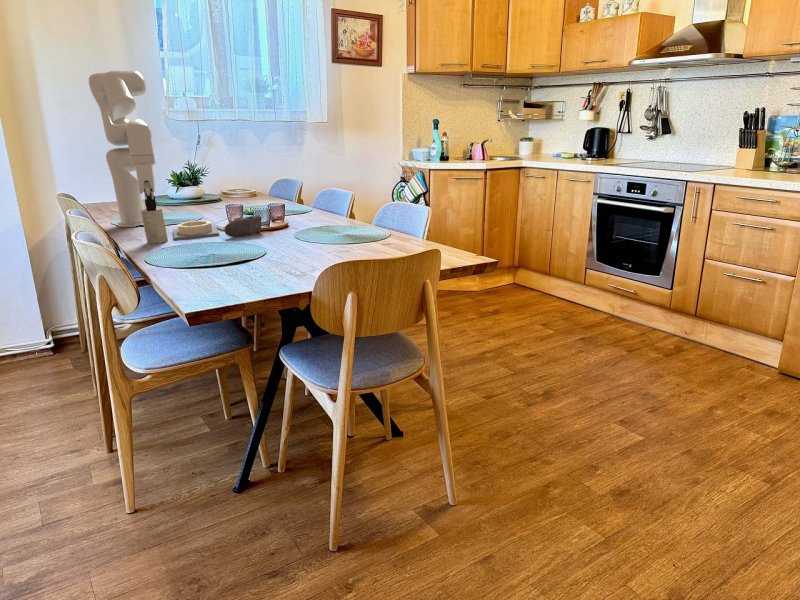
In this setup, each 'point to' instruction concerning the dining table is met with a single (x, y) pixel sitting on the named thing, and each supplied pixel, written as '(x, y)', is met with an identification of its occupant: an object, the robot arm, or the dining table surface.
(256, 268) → the dining table surface
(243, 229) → the perforated stone tool
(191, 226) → the collar board
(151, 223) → the skincare box
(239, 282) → the dining table surface
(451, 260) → the dining table surface
